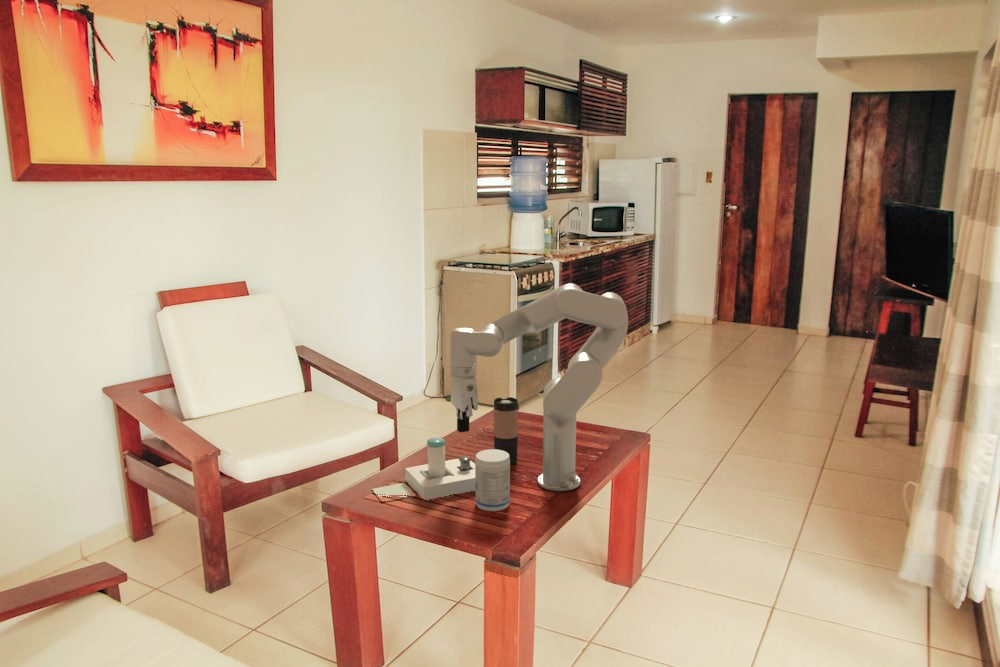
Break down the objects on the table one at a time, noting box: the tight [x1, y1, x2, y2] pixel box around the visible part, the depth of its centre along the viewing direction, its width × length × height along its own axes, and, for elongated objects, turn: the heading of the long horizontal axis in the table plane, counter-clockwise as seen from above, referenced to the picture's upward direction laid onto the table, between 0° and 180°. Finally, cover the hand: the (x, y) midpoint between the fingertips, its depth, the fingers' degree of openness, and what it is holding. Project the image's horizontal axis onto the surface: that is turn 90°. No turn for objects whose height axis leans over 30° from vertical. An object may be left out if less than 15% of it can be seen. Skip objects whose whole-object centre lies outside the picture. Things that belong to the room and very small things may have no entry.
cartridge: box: [426, 437, 446, 479], centre depth 221 cm, size 5×5×14 cm
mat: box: [371, 482, 414, 497], centre depth 218 cm, size 10×10×1 cm
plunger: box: [459, 455, 472, 471], centre depth 225 cm, size 4×4×5 cm
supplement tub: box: [474, 448, 511, 512], centre depth 208 cm, size 10×10×15 cm
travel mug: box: [493, 396, 519, 465], centre depth 240 cm, size 8×8×20 cm
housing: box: [404, 457, 476, 501], centre depth 223 cm, size 16×20×4 cm
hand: (463, 430), depth 223 cm, fingers closed
